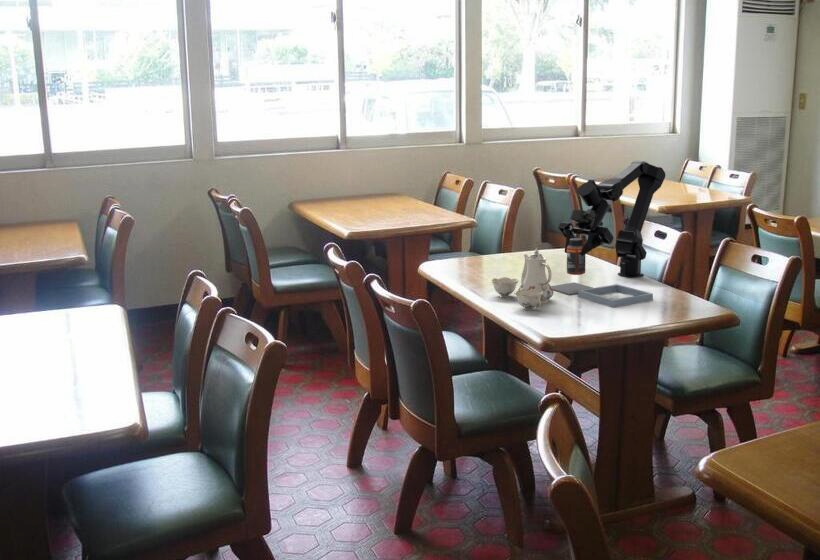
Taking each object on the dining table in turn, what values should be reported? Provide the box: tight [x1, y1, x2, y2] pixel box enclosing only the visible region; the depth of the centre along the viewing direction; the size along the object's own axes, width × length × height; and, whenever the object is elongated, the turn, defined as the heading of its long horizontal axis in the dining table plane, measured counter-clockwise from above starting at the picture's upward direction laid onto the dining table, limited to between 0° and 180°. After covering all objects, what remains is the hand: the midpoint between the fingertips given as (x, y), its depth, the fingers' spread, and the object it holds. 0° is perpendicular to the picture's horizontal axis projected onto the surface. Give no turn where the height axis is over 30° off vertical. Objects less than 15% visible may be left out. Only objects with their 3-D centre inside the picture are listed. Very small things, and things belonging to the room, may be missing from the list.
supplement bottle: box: [566, 237, 586, 276], centre depth 287 cm, size 6×6×11 cm
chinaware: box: [491, 248, 554, 311], centre depth 274 cm, size 28×17×17 cm, turn 24°
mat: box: [550, 282, 594, 296], centre depth 290 cm, size 12×12×1 cm
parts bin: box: [577, 283, 654, 308], centre depth 277 cm, size 16×16×2 cm
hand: (573, 253), depth 286 cm, fingers closed on supplement bottle, 6 cm apart
